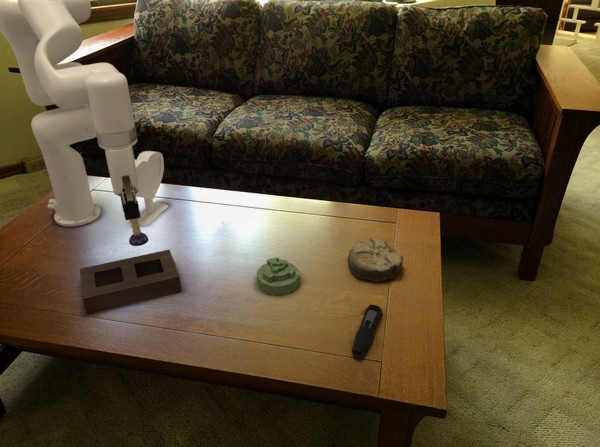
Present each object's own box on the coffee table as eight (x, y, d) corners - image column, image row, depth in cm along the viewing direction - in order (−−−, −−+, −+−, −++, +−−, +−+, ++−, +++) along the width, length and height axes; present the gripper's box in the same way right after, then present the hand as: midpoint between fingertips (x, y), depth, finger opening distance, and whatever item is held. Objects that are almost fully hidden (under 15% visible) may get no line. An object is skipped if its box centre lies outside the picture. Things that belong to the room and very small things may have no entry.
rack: (83, 283, 124) (79, 268, 121) (171, 264, 131) (169, 249, 128) (86, 314, 114) (82, 298, 112) (181, 291, 121) (179, 276, 119)
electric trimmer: (346, 358, 103) (346, 346, 102) (366, 309, 116) (367, 298, 114) (364, 363, 102) (365, 352, 101) (383, 314, 115) (384, 303, 113)
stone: (385, 249, 137) (387, 231, 134) (409, 277, 126) (412, 259, 123) (339, 258, 133) (339, 240, 131) (360, 288, 122) (361, 270, 120)
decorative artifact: (290, 298, 119) (304, 274, 127) (290, 274, 115) (304, 250, 123) (250, 290, 122) (266, 266, 130) (249, 265, 118) (265, 242, 126)
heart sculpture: (143, 228, 145) (133, 170, 136) (128, 225, 147) (116, 167, 137) (171, 203, 158) (164, 148, 149) (157, 200, 159) (148, 145, 150)
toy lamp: (142, 248, 115) (129, 180, 106) (122, 246, 116) (108, 178, 107) (151, 237, 119) (140, 170, 110) (133, 235, 120) (119, 169, 111)
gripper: (94, 125, 109) (110, 201, 119) (100, 153, 97) (118, 236, 106) (131, 120, 112) (144, 195, 121) (141, 147, 99) (155, 229, 109)
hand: (131, 214), depth 114 cm, fingers closed on toy lamp, 2 cm apart
